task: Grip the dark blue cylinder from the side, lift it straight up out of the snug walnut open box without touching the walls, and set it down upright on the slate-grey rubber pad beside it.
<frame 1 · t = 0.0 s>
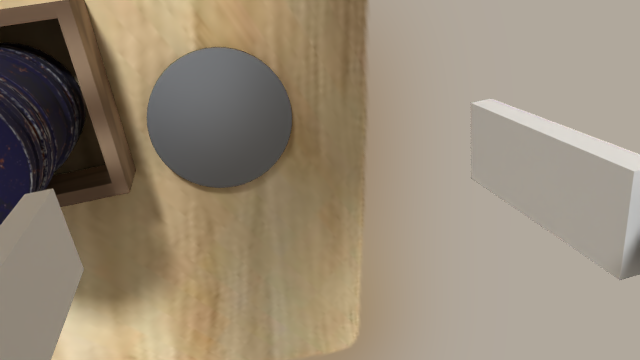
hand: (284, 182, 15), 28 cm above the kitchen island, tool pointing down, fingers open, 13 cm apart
rubber pad: (221, 118, 42), on the kitchen island
walnut open box: (18, 106, 38), on the kitchen island
dark blue cylinder: (19, 105, 38), resting in walnut open box
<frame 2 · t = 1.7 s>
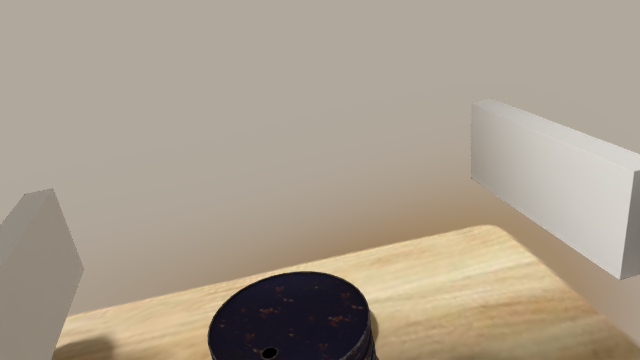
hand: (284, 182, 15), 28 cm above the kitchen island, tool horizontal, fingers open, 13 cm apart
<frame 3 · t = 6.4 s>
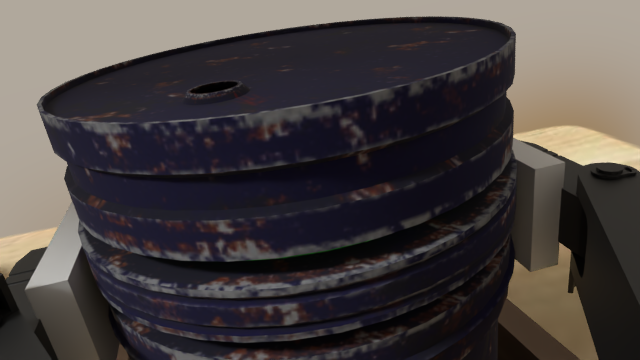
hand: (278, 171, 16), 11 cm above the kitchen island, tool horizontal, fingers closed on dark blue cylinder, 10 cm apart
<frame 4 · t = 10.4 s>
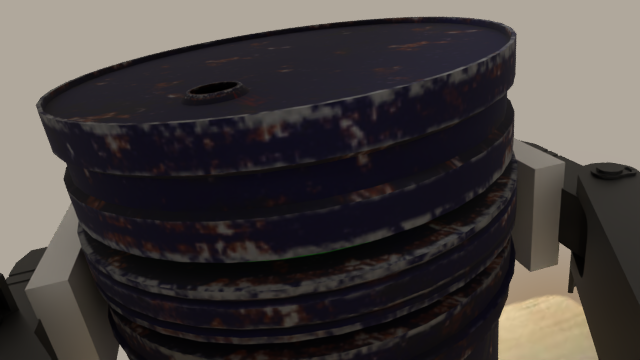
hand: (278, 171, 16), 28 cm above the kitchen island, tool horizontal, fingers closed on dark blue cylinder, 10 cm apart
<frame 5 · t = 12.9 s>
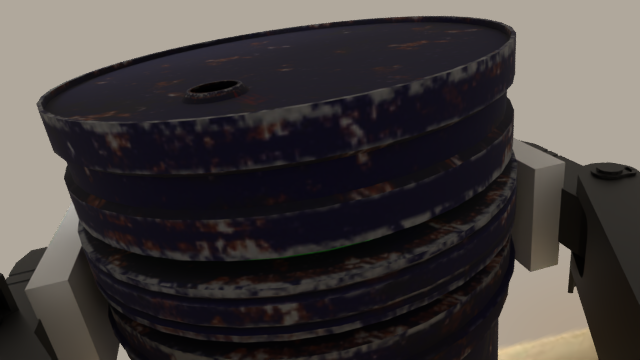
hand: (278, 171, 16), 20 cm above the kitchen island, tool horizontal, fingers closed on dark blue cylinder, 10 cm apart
when the fingers open (13 cm above the kitchen island, at t = 14.7 s): dark blue cylinder drops 1 cm, resting on rubber pad.
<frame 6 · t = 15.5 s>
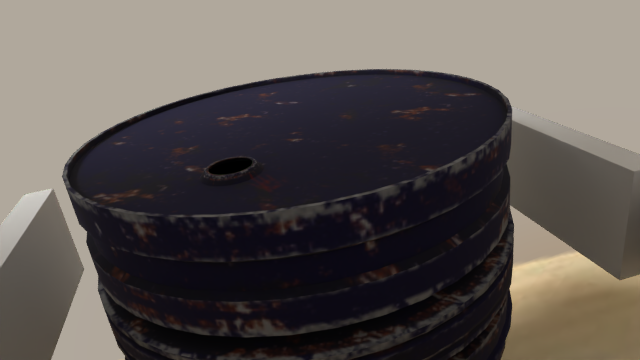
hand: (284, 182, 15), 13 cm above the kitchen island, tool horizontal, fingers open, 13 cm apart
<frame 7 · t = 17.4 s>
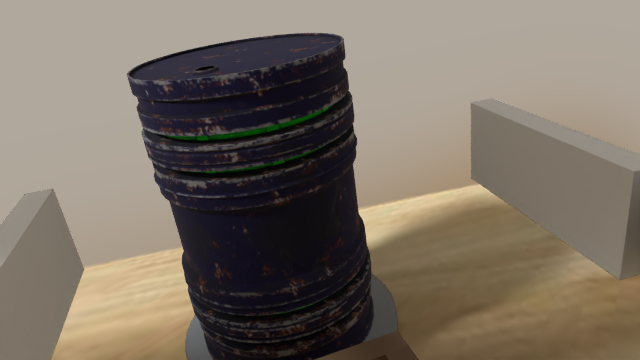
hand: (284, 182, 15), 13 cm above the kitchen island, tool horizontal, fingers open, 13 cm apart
rubber pad: (293, 330, 29), on the kitchen island
dark blue cylinder: (290, 319, 28), point 1 cm above the kitchen island, touching rubber pad
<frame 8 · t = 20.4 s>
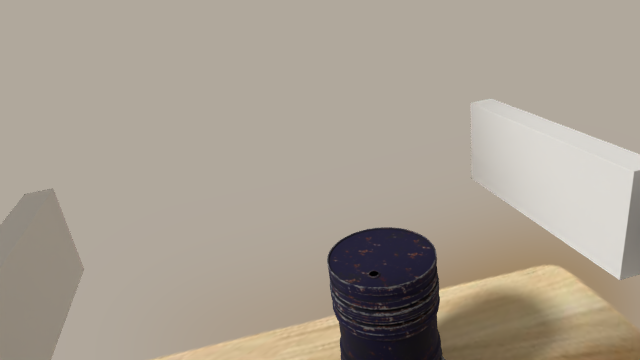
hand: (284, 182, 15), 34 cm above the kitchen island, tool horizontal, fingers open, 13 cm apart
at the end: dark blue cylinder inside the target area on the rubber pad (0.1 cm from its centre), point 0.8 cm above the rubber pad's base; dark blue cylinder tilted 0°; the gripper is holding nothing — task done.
